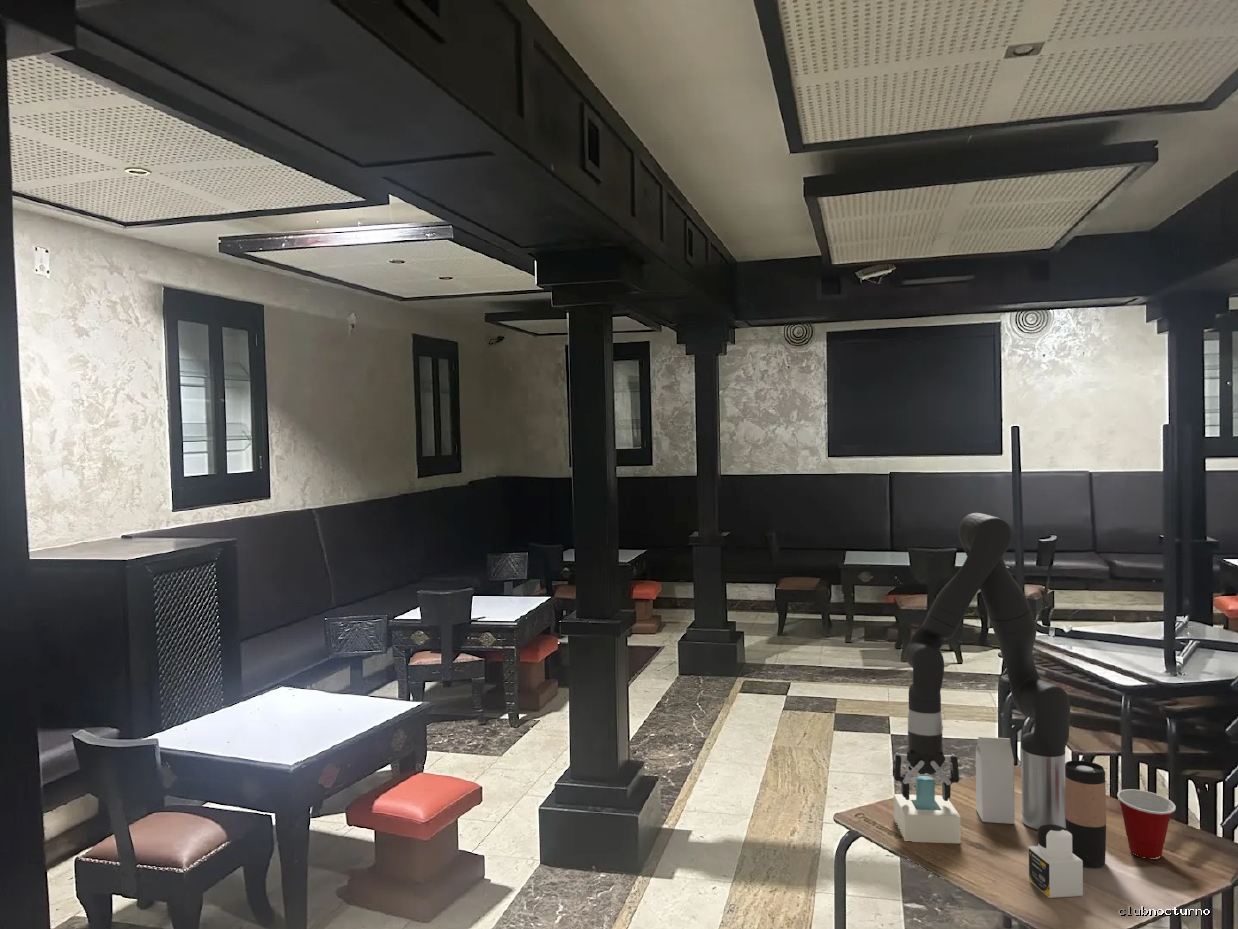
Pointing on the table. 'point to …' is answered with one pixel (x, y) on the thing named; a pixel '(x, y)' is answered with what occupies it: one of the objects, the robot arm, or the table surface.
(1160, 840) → the plastic cup
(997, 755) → the milk carton
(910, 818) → the socket block
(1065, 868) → the medicine bottle
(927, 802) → the peg
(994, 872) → the table surface
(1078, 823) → the travel mug
